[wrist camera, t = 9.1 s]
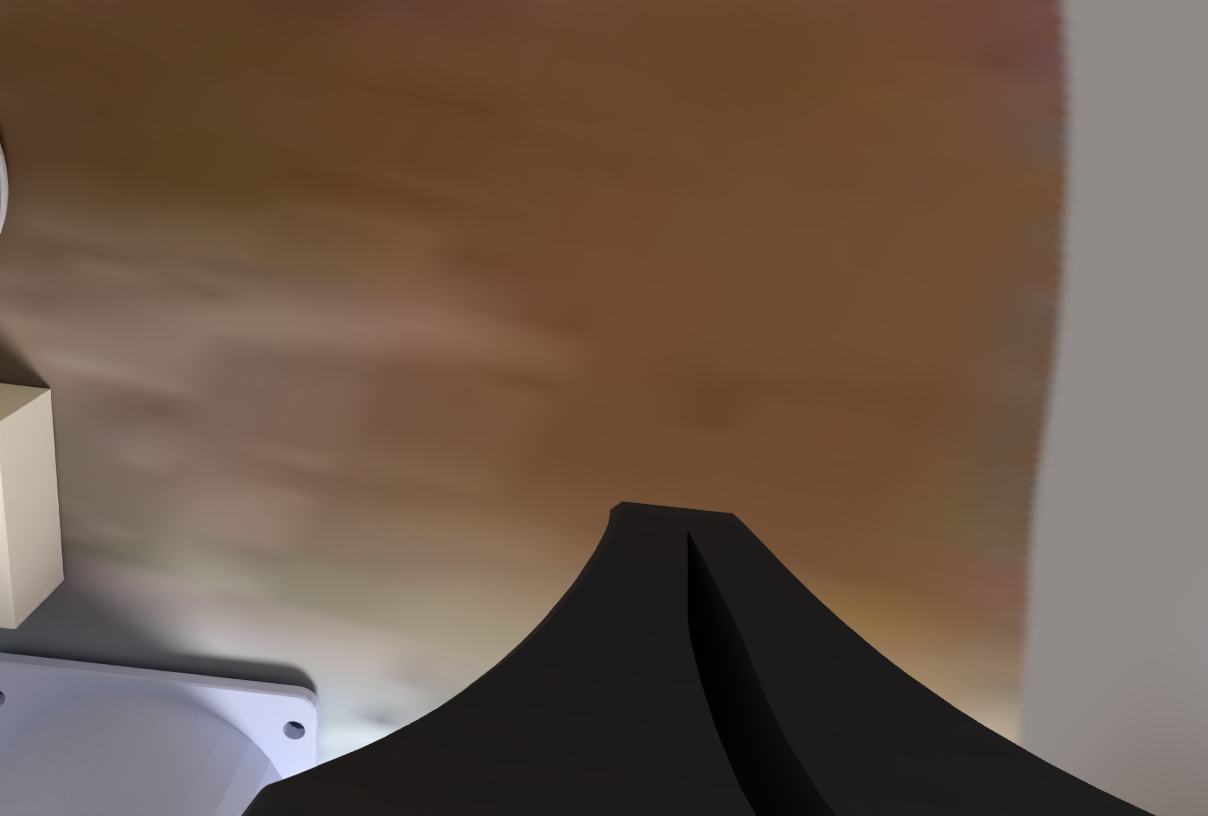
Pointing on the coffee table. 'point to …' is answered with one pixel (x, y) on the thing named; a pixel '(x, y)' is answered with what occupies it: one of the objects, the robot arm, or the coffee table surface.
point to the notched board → (27, 503)
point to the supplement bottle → (3, 188)
